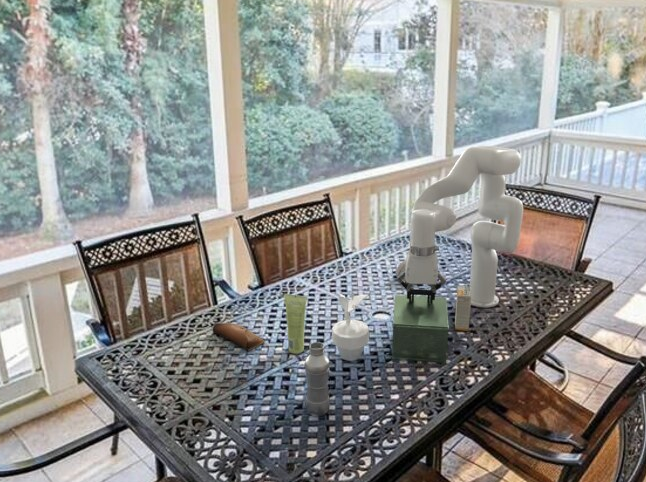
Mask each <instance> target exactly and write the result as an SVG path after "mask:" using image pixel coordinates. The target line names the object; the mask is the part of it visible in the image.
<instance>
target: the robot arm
mask: <svg viewBox="0 0 646 482" xmlns="http://www.w3.org/2000/svg"><path fill="white" fill-rule="evenodd" d="M521 163H522V157H521V153H520V152H519V150H517V149H515V148H507V147H500V146H494V145H481V144H480V145H477V146H468V147H467V148H465V149H464V151H462V153H461V155H460V156H459V157H458V158H457V161H456V162H455V164H454V165H453V166H452V168H451V170H450V172H449V173H448V174H447V176H444V177H443V178H441V179H439V180H437V181H435V182H433V183H432V184H430V185H428V186H427V187H426V188H424V189H423V191H422V192H421V193H420V194H419V196H418V197H417V199H416V200H415V202H414V203H413V206H412V208H411V213H410V230H409V231H410V237H409V239H410V240H409V250H408V251H407V253H406V259H405V260H406V269H405V271H404V272H403V273H401V274H400V275H399V276H398V277H396V281H397V282H398V283H399V284H400V285H401V286H402V287H403V288H404V290H405V291H406V296H407V299H409V303H411V296H412V294H411V292H412V289H413V288H412V287H413V285H429V287H430V289H429V290H431V295H430V303H431V304H433V300H435V297H436V293H437V291H438V290H439V289H440V288H441V287H443V285H445V284H446V283H447V279H446V278H445V277H444V276H443V275H442V274H441V273H440V272H439V261H438V254H437V251H440V245H436V244H435V242H436V233H437V232H443V231H447V230H450V229H451V228H452V227H454V225H455V223H456V221H457V213H456V211H455V210H454V209H453V208H452V207H449V206H446V205H443V204H442V205H441V204H438V203H437V202H438V201H440V200H443V199H447V198H452V197H455V196H456V197H457V196H461V195H465V194H467V193H469V191H470V190H471V188H472V187H473V186H474V184H475V182H476V180H478V177H479V176H480V180H481V181H480V191H479V199H478V208H477V209H478V214H479V215H480V216H481V217H482V218H485V219H489V220H492V221H498V222H502V223H503V224H500V223H496V222H492V221H487V220H478V221H476V222H474V223H473V224H472V226H471V229H470V243H471V263H470V279H469V287H471V306H474V307H477V308H493V307H496V306H497V305H498V304H499V301H500V299H499V297H498V296H497V295H496V286H497V274H498V265H499V258H498V254H497V251H498V252H501V253H504V254H512V253H514V252H516V250H517V249H518V248H519V247H518V246H519V243H520V239H521V232H522V225H523V218H524V204H523V201H521V199H520V198H518V197H516V196H512V195H506V193H505V192H506V184H507V183H506V176H508V175H514V174H515V173H516V172H517V171H518V170H519V168H520V167H521ZM404 277H405V280H406V282H405V281H404V280H403V278H404ZM438 280H439V281H438Z"/></svg>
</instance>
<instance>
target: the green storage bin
mask: <svg viewBox="0 0 646 482" xmlns="http://www.w3.org/2000/svg"><path fill="white" fill-rule="evenodd" d="M448 340H449V328H448V329H441V328H424V327H408V326H393V325H392V353H391V355H392V356H391V360H393V361H404V362H405V361H406V362H421V363H433V364H447V360H448V359H447V357H448V342H449V341H448Z"/></svg>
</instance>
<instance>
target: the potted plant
mask: <svg viewBox="0 0 646 482" xmlns="http://www.w3.org/2000/svg"><path fill="white" fill-rule="evenodd" d="M369 295H370V294H366V293H365V294H359V295H356V294H355V293H354V291H353V289H352V290H351V295H350V296H349V298H350V299H349V300H348V299H347V297H345V295H344V294H343V293H340V294H338V301H339V303H340V306H341V307H342V309H343V311H344V312H343V317H344V319H343V320H340V321H338V322H335V323H334V324H333V325H332V327H331V340H332V343H333V345H334V346H336V348H337V351H338V353H339V356H340V358H341V359H343V360H344V361H349V362H352V361H357V360H359V359H360V358H361V356H362V354H363V351H364V349H365V346H367V345H368V343H369V341H370V327H369V326H368V324H367V323H365V322H363V321H361V320H358V319H351V315H350V313H352V312H354V311H355V310H356V309H357V308H359V306H360V304H361V303H362V302H363V300H365V299H366V298H367V297H368V296H369Z"/></svg>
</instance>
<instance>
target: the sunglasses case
mask: <svg viewBox="0 0 646 482" xmlns="http://www.w3.org/2000/svg"><path fill="white" fill-rule="evenodd" d="M212 333H213V334H216V335H218V336H220V337H223V338H225V339H227V340H229V341H231V342H233V343H234V344H236V345H238V346H239V347H242V348H243V349H245V350H247V351H249V352H250V351H253V350H254V349H256V348H258V347H260V346H261V345H262V344H264V343H265V339H263V338H262V337H261V336H259V335H258V334H256V333H254V332H252V331H250V330H248V329H247V327H245V326H242V325H239V324H235V323H225V322H220V323H219V322H218V323H215V324H214V325H213V327H212Z"/></svg>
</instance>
